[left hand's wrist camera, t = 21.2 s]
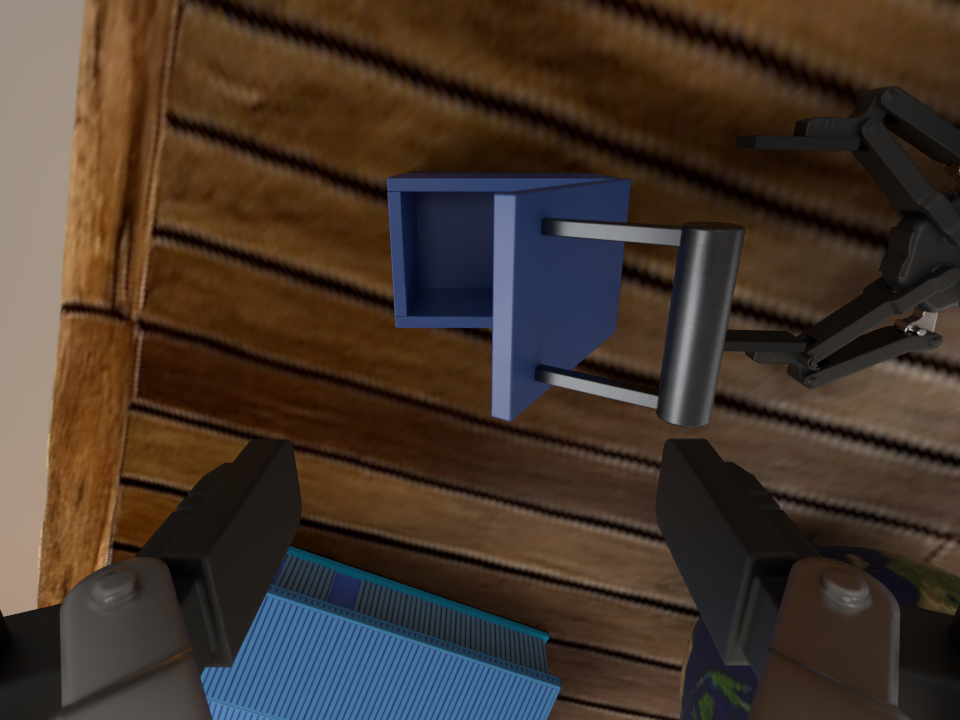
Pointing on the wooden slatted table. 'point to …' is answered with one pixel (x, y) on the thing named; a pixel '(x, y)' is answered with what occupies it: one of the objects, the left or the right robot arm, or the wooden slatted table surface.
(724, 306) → the lid
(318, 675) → the model building
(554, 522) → the wooden slatted table surface
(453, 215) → the chest
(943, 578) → the globe
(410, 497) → the wooden slatted table surface
